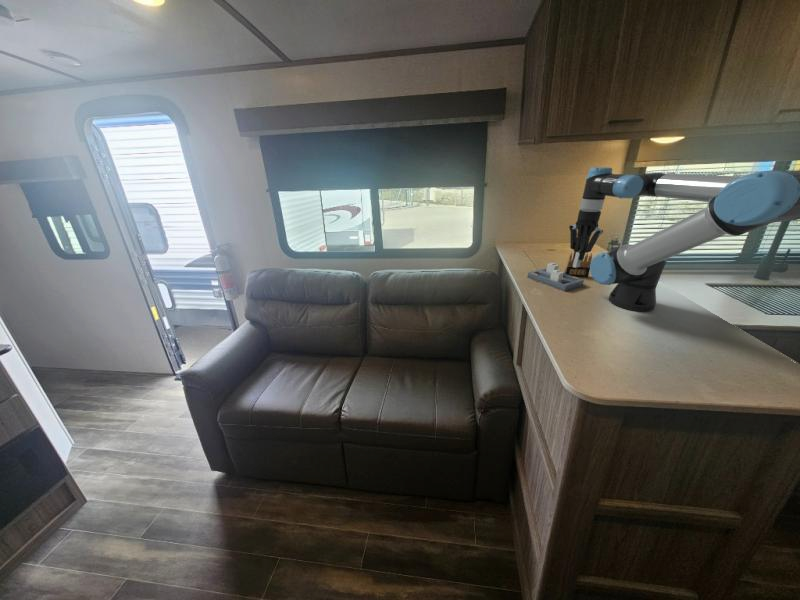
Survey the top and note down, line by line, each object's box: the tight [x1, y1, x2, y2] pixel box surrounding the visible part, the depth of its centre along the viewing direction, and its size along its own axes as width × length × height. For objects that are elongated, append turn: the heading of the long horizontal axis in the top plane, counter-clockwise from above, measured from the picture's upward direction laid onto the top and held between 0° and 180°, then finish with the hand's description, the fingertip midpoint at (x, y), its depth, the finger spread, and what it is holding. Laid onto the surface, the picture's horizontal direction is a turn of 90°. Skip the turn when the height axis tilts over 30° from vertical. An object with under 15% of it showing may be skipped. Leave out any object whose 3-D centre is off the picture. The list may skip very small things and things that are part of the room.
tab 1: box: [546, 262, 560, 273], centre depth 146 cm, size 4×3×6 cm
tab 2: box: [550, 269, 565, 283], centre depth 138 cm, size 4×3×6 cm
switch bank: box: [527, 267, 585, 292], centre depth 143 cm, size 20×13×3 cm, turn 28°
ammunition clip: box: [564, 252, 593, 278], centre depth 146 cm, size 11×2×12 cm, turn 79°
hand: (576, 266), depth 128 cm, fingers closed
